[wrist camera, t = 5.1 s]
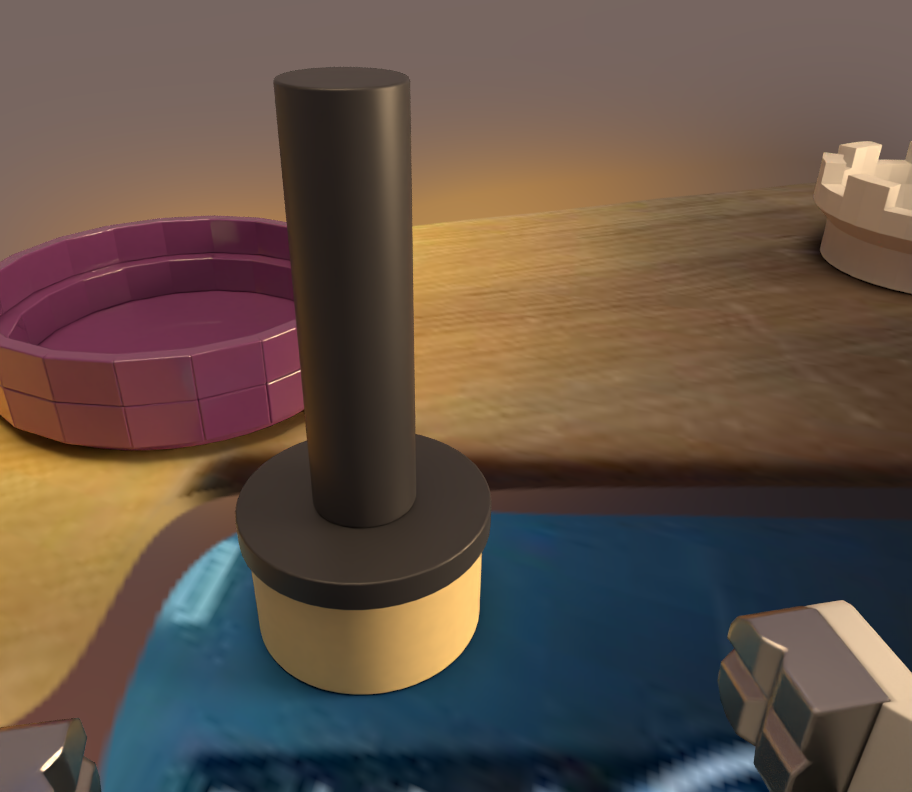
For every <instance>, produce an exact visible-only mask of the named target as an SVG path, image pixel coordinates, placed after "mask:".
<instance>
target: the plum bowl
mask: <svg viewBox="0 0 912 792" xmlns="http://www.w3.org/2000/svg"><path fill="white" fill-rule="evenodd" d="M303 410H304V402H303V391H302V380H301V370H300V359H299V348H298V338H297V327H296V317H295V306H294V295H293V285H292V274H291V263H290V253H289V242H288V231H287V222H282V221H276V220H270V219H264V218H254V217H253V218H252V217H233V216H231V217H230V216H194V217H174V218H161V219H160V218H159V219H152V220H145V221H137V222H131V223H124V224H116V225H110V226H104V227H100V228H96V229H92V230H88V231H83V232H79V233H75V234H71V235H67V236H62V237H59V238H56V239H53V240H51V241H48V242H45V243H42V244H40V245H37V246H35V247H32V248H29V249H26V250H24V251H21V252H18V253H16V254H13V255H11V256H9V257H8V258H6V259H4V260H3V261H1V262H0V415H1V416H2V417H3V418H4V419H6V420H7V421H8V422H9V423H10V424H12V425H13V426H14V427H15V428H17V429H21V430H24V431H27V432H30V433H33V434H36V435H40V436H43V437H46V438H49V439H52V440H56V441H59V442H62V443H67V444H73V445H81V446H87V447H93V448H100V449H113V450H161V449H175V448H182V447H190V446H197V445H203V444H208V443H213V442H218V441H223V440H227V439H231V438H235V437H238V436H242V435H246V434H249V433H252V432H255V431H258V430H261V429H264V428H266V427H269V426H272V425H274V424H276V423H279V422H281V421H283V420H285V419H288V418H290V417H292V416H294V415H296V414H297V413H299V412H301V411H303Z"/></svg>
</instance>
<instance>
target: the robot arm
mask: <svg viewBox="0 0 912 792" xmlns="http://www.w3.org/2000/svg"><path fill="white" fill-rule="evenodd" d="M727 638H728V640H729V641H730V643H731V644H732V646H733V647H734V649H733V650H732V651H731V652H730V653H729V654H728V655H727V657H726V658H725V659H724V660H723V661H722V662H721V666H720V671H719V676H718V686H719V693H720V701H721V703H722V706H723V709H724V711H725V714H726V717H727V719H728V720H729V722H730V724H731V726H732V727H733V729H734V731H735V733H736V734H737V735H739V736H740V737H742V738H743V739H745V740H746V741H748V742H749V743H751V744H752V745H754V746H756V748H755V756H754V765H755V767H756V769H757V770H758V772H759V774H760V775H761V777H762V779H763V780H764V782H765V784H766V785H767V787H768V789H769V790H770V792H912V673H911V672H910V671H909V670H908V668H907V667H906V666H905V665H904V664H903V663H902V662H901V660H900V659H899V658H898V657H897V656H896V655H895V654H894V652H893V651H892V650H891V649H890V648H889V647H888V646H887V644H886V643H885V642H884V641H883V640H882V639H881V638H880V636H879V635H878V634H877V633H876V632H875V631H874V630H873V628H872V627H871V626H870V625H869V624H868V623H867V622H866V620H865V619H864V618H863V617H862V616H861V615H860V614H859V612H858V611H857V610H856V609H855V608H854V607H853V606H852V605H850V604H848V603H847V602H845V601H843V600H841V601H834V602H828V603H821V604H815V605H808V606H806V607H804V606H798V607H792V608H786V609H780V610H774V611H768V612H762V613H756V614H750V615H744V616H738V617H737V618H736V619H735V620H734V621H733V622H732V623H731V626H730V630H729V634H728V637H727ZM86 740H87V736H86V734H85V731H84V728H83V726H82V723H81V720H80V719H79V718H71V719H64V720H55V721H48V722H39V723H32V724H24V725H16V726H8V727H0V792H101V785H100V778H99V774H98V771H97V767H96V764H95V762H93V761H91V760H89V759H88V758H86V757H84V756H83V754H84V750H85V745H86Z"/></svg>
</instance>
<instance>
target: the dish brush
mask: <svg viewBox="0 0 912 792" xmlns="http://www.w3.org/2000/svg"><path fill="white" fill-rule="evenodd" d="M274 92H275V104H276V114H277V124H278V135H279V146H280V156H281V167H282V178H283V189H284V200H285V210H286V221H287V231H288V242H289V253H290V263H291V274H292V285H293V295H294V306H295V317H296V327H297V338H298V348H299V359H300V370H301V380H302V391H303V402H304V412H305V423H306V433H307V441H304V442H302V443H299V444H296V445H294V446H292V447H290V448H288V449H286V450H284V451H282V452H280V453H279V454H277V455H275V456H274V457H272V458H271V459H269V460H268V461H267V462H265V463H264V464H263V465H261V466H260V467H259V468H258V469H257V470H256V471H255V472H254V473H253V474H252V475H251V477H250V478H249V479H248V480H247V482H246V483H245V485H244V487H243V488H242V490H241V492H240V495H239V498H238V501H237V504H236V511H235V518H236V527H237V534H238V540H239V546H240V549H241V553H242V556H243V558H244V560H245V562H246V563H247V565H248V567H249V568H250V569H251V570H252V577H253V584H254V590H255V597H256V604H257V610H258V617H259V624H260V631H261V634H262V638H263V641H264V643H265V645H266V647H267V649H268V651H269V653H270V654H271V655H272V657H273V658H274V659H275V661H276V662H277V663H278V664H279V665H280V666H281V667H282V668H283V669H284V670H285V671H287V672H288V673H290V674H291V675H293V676H294V677H295V678H297V679H299V680H301V681H303V682H305V683H307V684H309V685H312V686H315V687H317V688H320V689H323V690H328V691H332V692H337V693H345V694H377V693H386V692H391V691H395V690H400V689H403V688H406V687H409V686H412V685H415V684H418V683H420V682H422V681H424V680H426V679H429V678H430V677H432V676H434V675H435V674H437V673H439V672H440V671H442V670H443V669H444V668H446V667H447V666H448V665H449V664H451V663H452V662H453V661H454V660H455V659H456V658H457V657H458V656H459V655H460V654H461V653H462V652H463V650H464V649H465V647H466V646H467V645H468V643H469V642H470V640H471V638H472V636H473V634H474V632H475V629H476V626H477V623H478V618H479V609H480V581H481V553H482V551H483V549H484V547H485V545H486V543H487V540H488V537H489V531H490V521H491V494H490V490H489V487H488V484H487V482H486V480H485V478H484V476H483V474H482V473H481V471H480V470H479V469H478V467H477V466H476V465H475V464H474V463H473V462H472V461H471V460H470V459H469V458H468V457H466V456H465V455H463V454H462V453H461V452H459V451H458V450H456V449H454V448H452V447H450V446H449V445H447V444H444V443H442V442H440V441H437V440H434V439H431V438H428V437H425V436H422V435H417V434H415V377H414V311H413V244H412V178H411V116H410V115H411V111H410V79H409V77H408V76H407V75H405V74H403V73H400V72H396V71H391V70H385V69H377V68H362V67H326V68H311V69H302V70H295V71H290V72H286V73H283V74H280V75H278V76H276V77H275V78H274Z"/></svg>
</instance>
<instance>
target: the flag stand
mask: <svg viewBox="0 0 912 792" xmlns="http://www.w3.org/2000/svg"><path fill="white" fill-rule="evenodd" d="M881 147H882V145H880V144H877V143H874V142H871V141H865V142H855V143H848V144H842V145H840V146H839V150H838V154H834V153H833V154H832V153H826V152H824V154H823V158H822V162H821V166H820V170H819V175H818V179H817V183H816V188H815V192H814V196H813V199H814V201H815V203H816V205H817V206H818V207H819V208H820V210H821V211H822V212H823V213H824V215H825V216H826V217H827V222H826V226H825V230H824V234H823V238H822V243H821V247H820V252H821V254H822V257H823V258H824V259H825V260H826V261H827V262H828V263H830V264H831V265H833V266H834V267H836V268H837V269H839V270H841V271H843V272H845V273H847V274H849V275H851V276H853V277H855V278H858V279H861V280H864V281H866V282H869V283H872V284H875V285H879V286H882V287H886V288H889V289H893V290H897V291H902V292H906V293H911V294H912V141H910V144H909V148H908V151H907V155H906V158H905V160H878V158H879V154H880V151H881Z"/></svg>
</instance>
